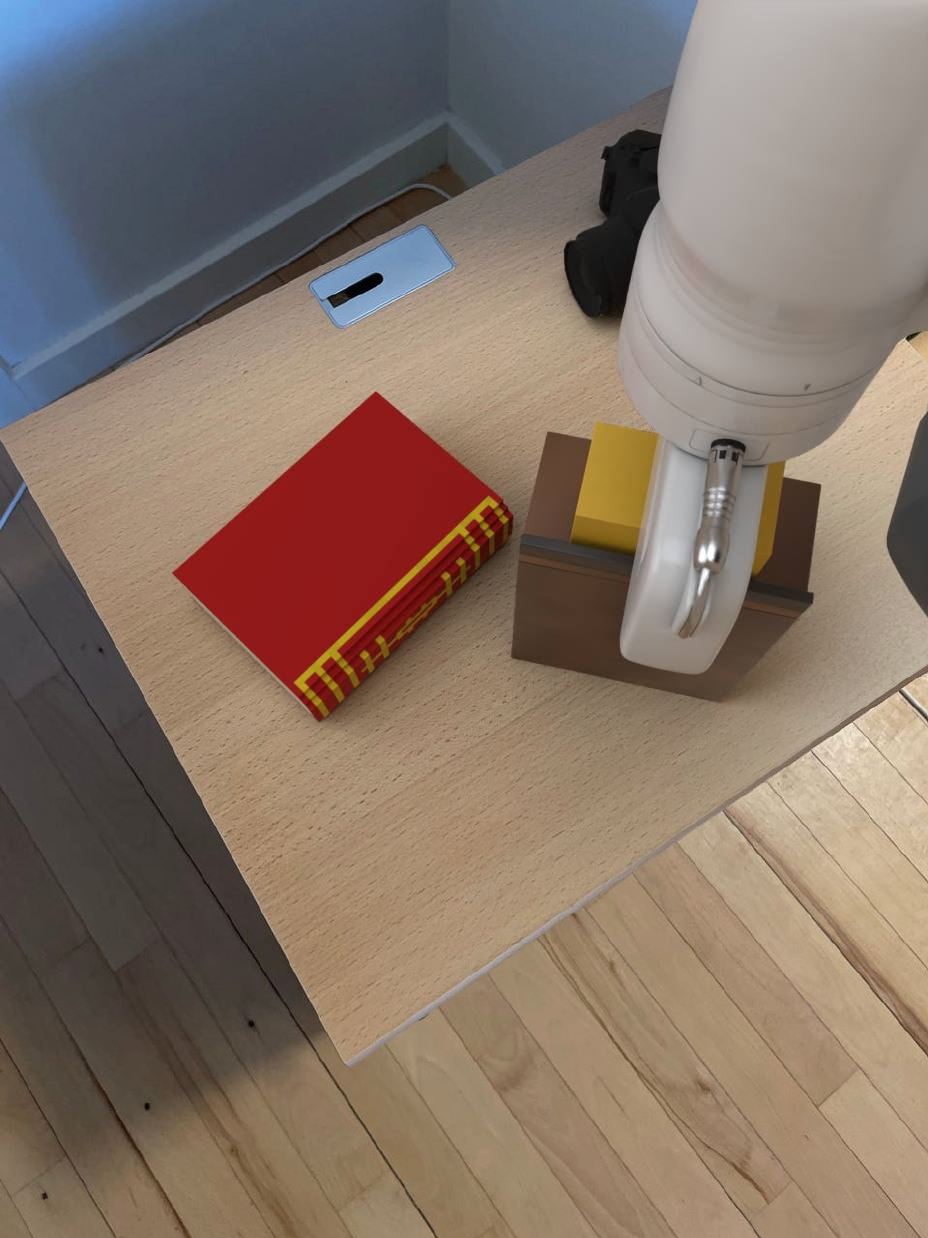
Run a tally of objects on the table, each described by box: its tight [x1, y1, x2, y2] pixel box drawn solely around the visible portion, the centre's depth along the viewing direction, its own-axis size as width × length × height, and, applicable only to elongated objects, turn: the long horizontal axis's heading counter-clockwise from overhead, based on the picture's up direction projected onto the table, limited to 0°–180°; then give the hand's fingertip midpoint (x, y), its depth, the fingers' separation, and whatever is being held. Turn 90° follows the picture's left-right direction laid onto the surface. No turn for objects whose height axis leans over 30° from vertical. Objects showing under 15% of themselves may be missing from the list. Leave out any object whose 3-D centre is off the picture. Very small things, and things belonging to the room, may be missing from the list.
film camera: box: [563, 128, 662, 319], centre depth 71 cm, size 15×10×9 cm, turn 25°
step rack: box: [510, 559, 799, 704], centre depth 59 cm, size 14×13×17 cm
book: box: [171, 390, 514, 724], centre depth 65 cm, size 18×13×5 cm
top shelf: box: [518, 431, 822, 619], centre depth 49 cm, size 14×7×2 cm, turn 77°
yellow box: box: [570, 421, 787, 580], centre depth 47 cm, size 5×9×4 cm, turn 76°
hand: (676, 504), depth 47 cm, fingers closed on yellow box, 5 cm apart
